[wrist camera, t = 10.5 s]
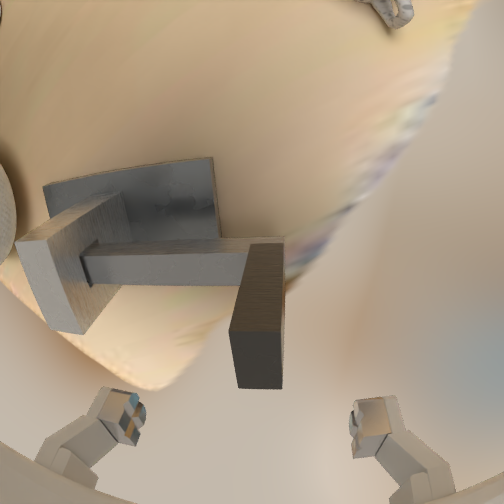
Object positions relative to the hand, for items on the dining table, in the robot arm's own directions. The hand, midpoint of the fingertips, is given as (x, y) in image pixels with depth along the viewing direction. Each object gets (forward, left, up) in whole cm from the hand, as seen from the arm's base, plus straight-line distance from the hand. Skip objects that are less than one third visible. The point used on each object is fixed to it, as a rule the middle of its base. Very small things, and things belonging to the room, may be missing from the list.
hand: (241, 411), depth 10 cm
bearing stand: (-15, 0, -20) cm, 25 cm away
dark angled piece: (-7, 0, -13) cm, 14 cm away
